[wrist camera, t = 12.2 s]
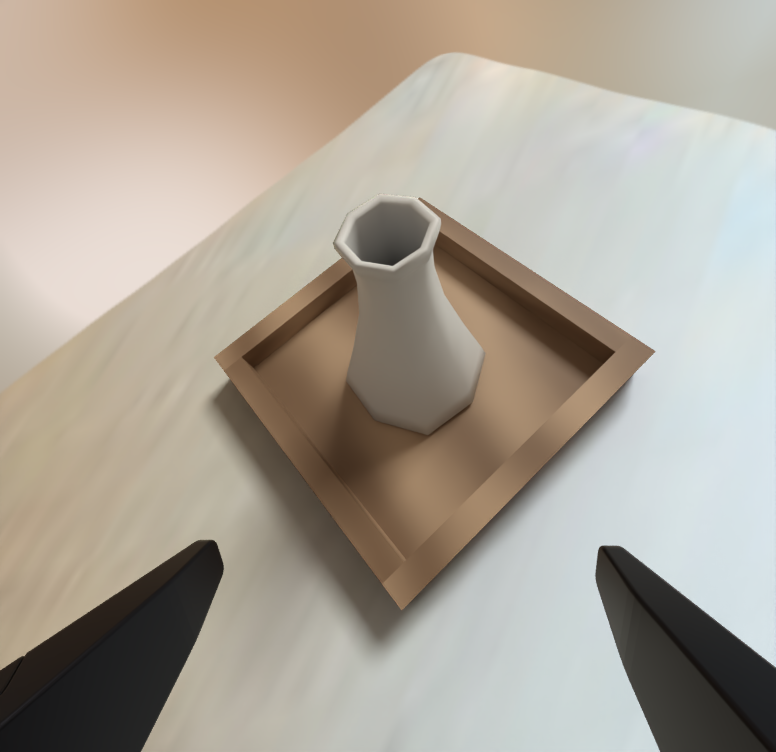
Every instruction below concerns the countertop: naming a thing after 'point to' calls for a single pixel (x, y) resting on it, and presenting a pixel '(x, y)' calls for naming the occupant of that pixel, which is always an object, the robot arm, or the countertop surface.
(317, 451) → the walnut tray
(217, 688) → the countertop surface
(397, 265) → the flask
